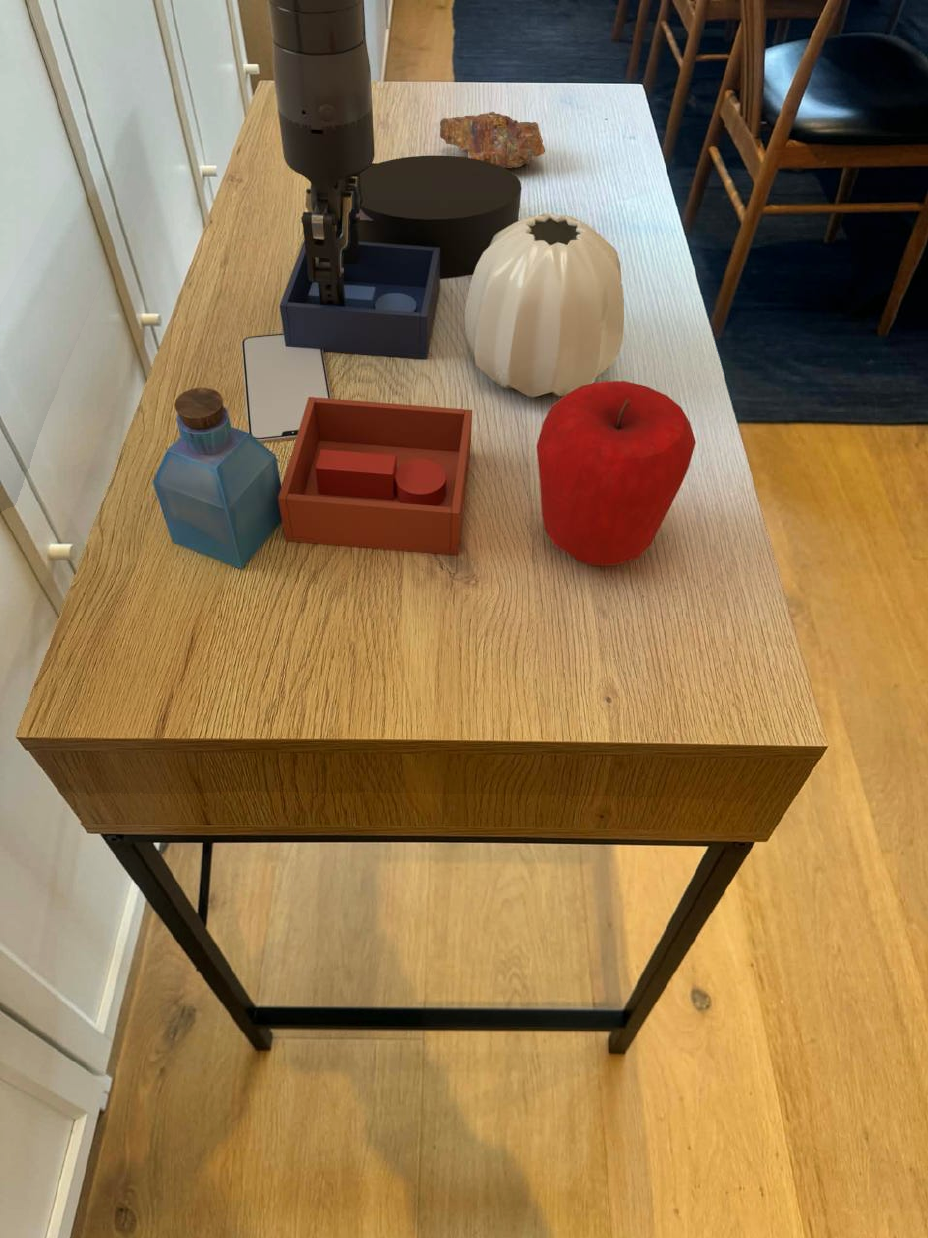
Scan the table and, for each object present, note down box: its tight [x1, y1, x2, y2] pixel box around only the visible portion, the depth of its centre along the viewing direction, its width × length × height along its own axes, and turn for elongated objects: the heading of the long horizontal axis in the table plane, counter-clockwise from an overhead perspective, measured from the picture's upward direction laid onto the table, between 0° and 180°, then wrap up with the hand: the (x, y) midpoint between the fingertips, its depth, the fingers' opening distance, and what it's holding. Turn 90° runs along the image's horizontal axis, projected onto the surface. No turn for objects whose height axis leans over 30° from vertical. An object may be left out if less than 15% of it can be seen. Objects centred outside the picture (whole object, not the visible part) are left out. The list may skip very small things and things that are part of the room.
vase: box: [463, 212, 625, 398], centre depth 77 cm, size 14×14×13 cm
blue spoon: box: [308, 282, 417, 312], centre depth 84 cm, size 10×4×3 cm, turn 85°
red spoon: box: [315, 449, 446, 506], centre depth 70 cm, size 10×4×3 cm, turn 85°
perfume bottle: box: [152, 387, 282, 570], centre depth 64 cm, size 6×6×12 cm
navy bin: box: [279, 239, 441, 360], centre depth 84 cm, size 13×12×4 cm
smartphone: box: [240, 332, 333, 444], centre depth 79 cm, size 7×1×15 cm
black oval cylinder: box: [356, 155, 522, 279], centre depth 93 cm, size 14×18×8 cm
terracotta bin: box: [278, 397, 473, 556], centre depth 69 cm, size 13×12×4 cm
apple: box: [536, 380, 697, 566], centre depth 64 cm, size 10×10×14 cm
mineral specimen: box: [439, 111, 546, 169], centre depth 105 cm, size 12×8×7 cm
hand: (340, 285), depth 84 cm, fingers open, 7 cm apart
